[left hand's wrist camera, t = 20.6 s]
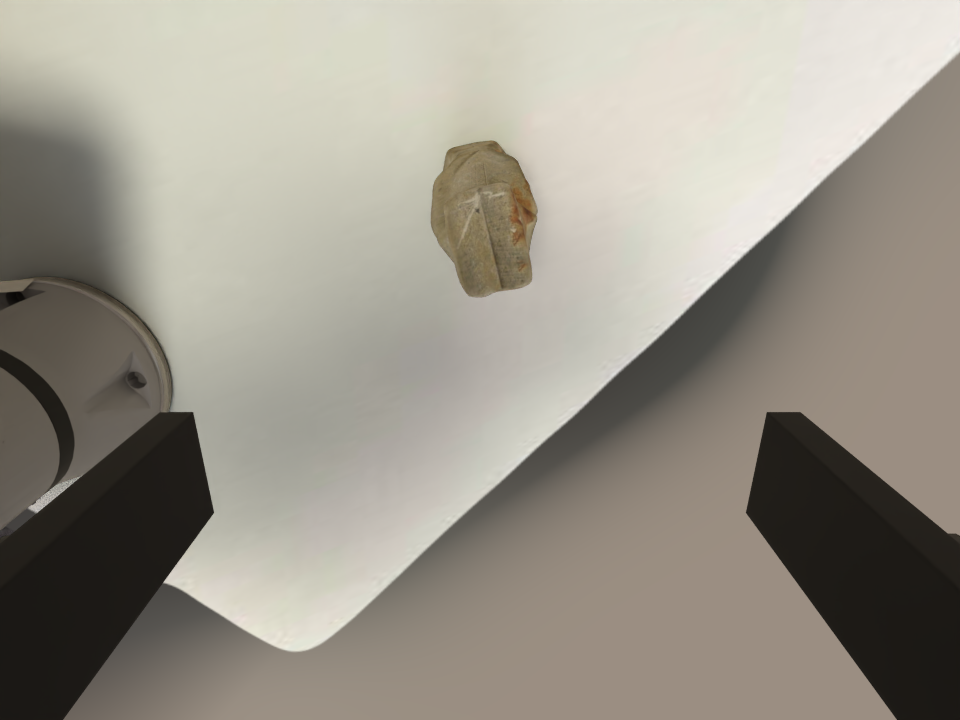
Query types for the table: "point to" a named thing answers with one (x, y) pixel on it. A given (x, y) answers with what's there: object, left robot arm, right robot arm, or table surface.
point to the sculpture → (484, 218)
